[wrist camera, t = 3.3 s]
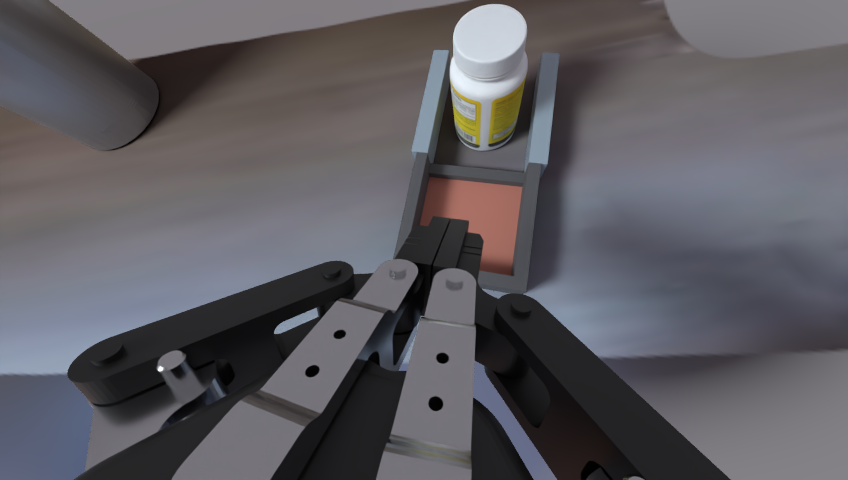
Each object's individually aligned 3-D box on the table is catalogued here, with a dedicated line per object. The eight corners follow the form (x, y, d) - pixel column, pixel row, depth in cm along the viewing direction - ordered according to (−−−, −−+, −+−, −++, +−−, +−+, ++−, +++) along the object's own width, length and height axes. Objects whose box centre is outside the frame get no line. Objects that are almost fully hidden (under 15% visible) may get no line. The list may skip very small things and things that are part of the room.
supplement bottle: (516, 101, 25) (538, -5, 17) (514, 153, 24) (535, 66, 16) (457, 101, 26) (450, 0, 18) (452, 151, 24) (441, 68, 16)
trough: (539, 180, 23) (547, 163, 20) (417, 167, 24) (411, 151, 22) (551, 79, 25) (559, 53, 22) (437, 74, 27) (433, 49, 24)
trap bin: (520, 295, 21) (526, 291, 18) (399, 273, 22) (391, 268, 20) (534, 180, 23) (541, 163, 20) (422, 168, 24) (416, 151, 22)
